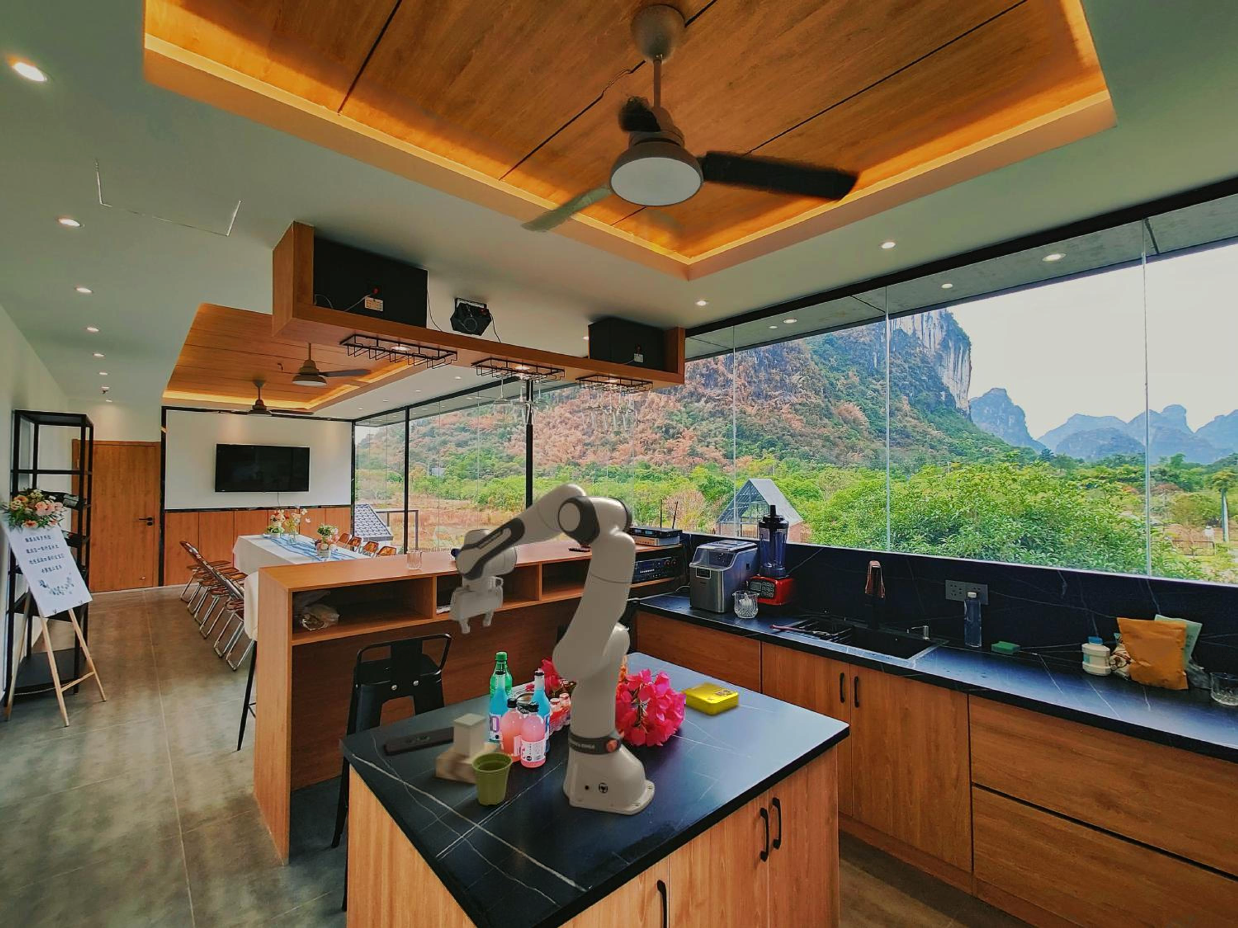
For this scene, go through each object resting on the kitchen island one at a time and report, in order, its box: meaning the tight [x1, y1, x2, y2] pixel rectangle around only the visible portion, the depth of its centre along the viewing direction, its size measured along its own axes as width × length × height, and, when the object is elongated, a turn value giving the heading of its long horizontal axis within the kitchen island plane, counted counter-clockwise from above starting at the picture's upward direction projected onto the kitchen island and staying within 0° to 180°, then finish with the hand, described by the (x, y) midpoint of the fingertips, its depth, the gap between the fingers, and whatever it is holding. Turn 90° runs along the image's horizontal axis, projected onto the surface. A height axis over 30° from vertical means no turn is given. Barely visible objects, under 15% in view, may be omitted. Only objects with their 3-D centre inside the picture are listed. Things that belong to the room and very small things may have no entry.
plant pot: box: [472, 752, 513, 806], centre depth 132 cm, size 9×9×9 cm
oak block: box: [435, 740, 502, 785], centre depth 146 cm, size 12×12×5 cm
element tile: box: [681, 681, 740, 716], centre depth 191 cm, size 15×15×5 cm
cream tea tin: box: [452, 712, 487, 757], centre depth 146 cm, size 6×6×8 cm
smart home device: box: [384, 726, 454, 756], centre depth 161 cm, size 8×2×20 cm
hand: (476, 629), depth 167 cm, fingers open, 8 cm apart
